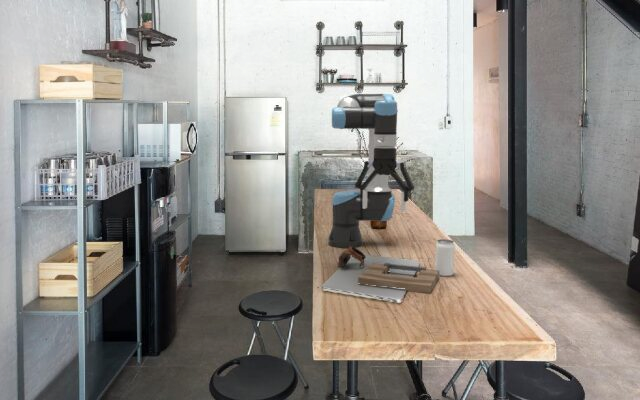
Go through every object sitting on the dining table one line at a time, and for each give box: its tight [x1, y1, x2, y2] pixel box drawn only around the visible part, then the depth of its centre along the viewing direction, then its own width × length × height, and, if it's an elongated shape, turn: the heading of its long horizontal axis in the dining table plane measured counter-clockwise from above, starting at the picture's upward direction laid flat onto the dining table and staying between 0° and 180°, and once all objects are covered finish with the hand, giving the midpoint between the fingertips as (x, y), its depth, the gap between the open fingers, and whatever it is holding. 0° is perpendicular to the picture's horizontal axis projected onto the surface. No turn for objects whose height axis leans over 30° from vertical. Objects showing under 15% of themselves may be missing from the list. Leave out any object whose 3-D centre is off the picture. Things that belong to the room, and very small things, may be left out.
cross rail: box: [383, 262, 427, 273], centre depth 188 cm, size 2×15×3 cm, turn 68°
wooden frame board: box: [357, 263, 440, 294], centre depth 180 cm, size 18×24×2 cm
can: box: [434, 238, 456, 277], centre depth 188 cm, size 6×6×12 cm
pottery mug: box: [337, 247, 367, 268], centre depth 197 cm, size 12×10×8 cm
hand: (383, 209), depth 181 cm, fingers open, 13 cm apart
